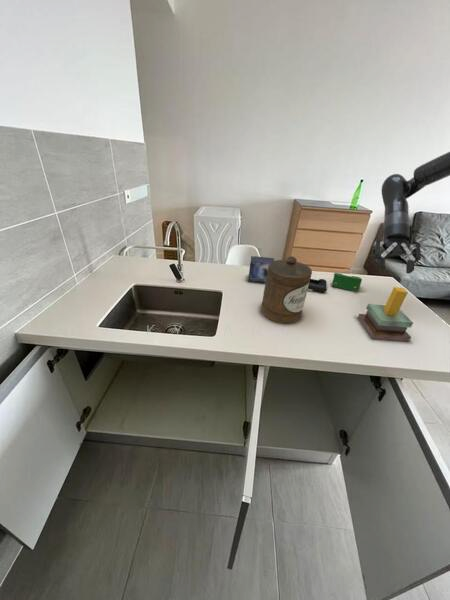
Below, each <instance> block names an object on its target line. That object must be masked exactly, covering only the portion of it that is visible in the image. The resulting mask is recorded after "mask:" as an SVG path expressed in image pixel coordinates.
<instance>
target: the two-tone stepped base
mask: <svg viewBox="0 0 450 600" xmlns="http://www.w3.org/2000/svg"><path fill="white" fill-rule="evenodd" d="M385 305H386V304H375V303H367V306H366V307H365V309H366V310H367V311H366V313H359V314H358V315H357V319H358V321H359V322H360V324H361V325H362V327H363V328H364V330H365V331H366V332H367V334H368V335H369V337H370V338H371V339H372V340H380V341H395V342H410V340H411V339H412V336H411V335H410V334H409V333H408V332H407V329H410V328H412V326H413V324H414V322H413V320H411V319H410V318H409V317H408V316H407V315H406V314H405V312H403V311H402V310H401V308H400V309H399V311H398V313H397V315H396V316H393V315H386V313H385V312H384V310H383V309H384V307H385Z"/></svg>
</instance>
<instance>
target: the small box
mask: <svg viewBox="0 0 450 600" xmlns="http://www.w3.org/2000/svg"><path fill="white" fill-rule="evenodd" d="M273 261H275V258H274V257H267V256H266V257H265V256H258V255H257V256H256V255H255V256H253V255H251V256H250V263H249V270H248V279H247V280H248V282H249V283H250V282H251V283H259V284H266V278H267V271H268V266H269V264H270V263H271V262H273Z"/></svg>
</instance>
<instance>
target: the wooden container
mask: <svg viewBox="0 0 450 600" xmlns="http://www.w3.org/2000/svg"><path fill="white" fill-rule="evenodd" d="M312 273H313V270H312V268H311V267H310V266H308V265H307V264H305V263H301V262H299V261H298V260H297V258H296V257H295V256H288V257H286V259H278V260H277V259H276V260H274V261H273V262H271V263H270V264H269V266H268V271H267V278H266V283H264V289H263V290H264V291H263V294H262V302H261V309H260V310H261V313H262V315H263V316H264V317H266V318H267V319H269V320H271V321H272V322H276V323H279V324H292V323H295V322H297V321H299V320H300V318H301V316H302V313H303V309H304V306H305V303H306V299H307V295H308V291H309V290H308V286H309V281H310V279H312Z"/></svg>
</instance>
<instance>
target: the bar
mask: <svg viewBox="0 0 450 600" xmlns="http://www.w3.org/2000/svg"><path fill="white" fill-rule="evenodd" d="M408 293H409V292H408V291H407V290H406V288H405V287H399V286H393V288H392V291H391V292H390V295H389V296H388V299H387V300H386V303H385V304H384V305H385V307H384V309H383V310H384V312H385V313H386V315H393V316H396V315H397V313H398V311H399V309H400V310H401V307H402V305H403V303H404V301H405V299H406V297H407V295H408Z"/></svg>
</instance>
